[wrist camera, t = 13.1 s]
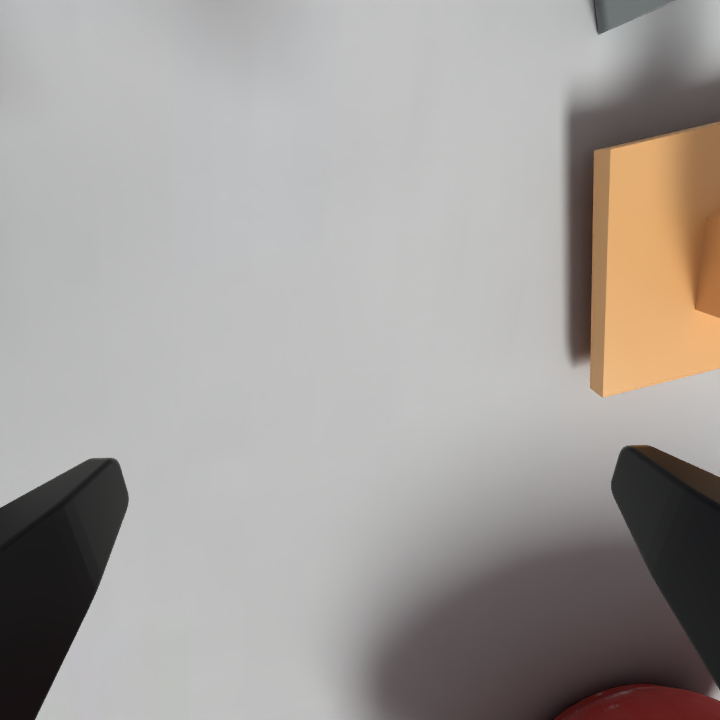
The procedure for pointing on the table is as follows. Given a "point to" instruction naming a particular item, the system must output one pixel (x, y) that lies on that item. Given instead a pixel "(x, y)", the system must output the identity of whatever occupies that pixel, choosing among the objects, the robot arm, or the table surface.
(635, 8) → the tub
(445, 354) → the table surface
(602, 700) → the mixing bowl
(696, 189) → the lid
